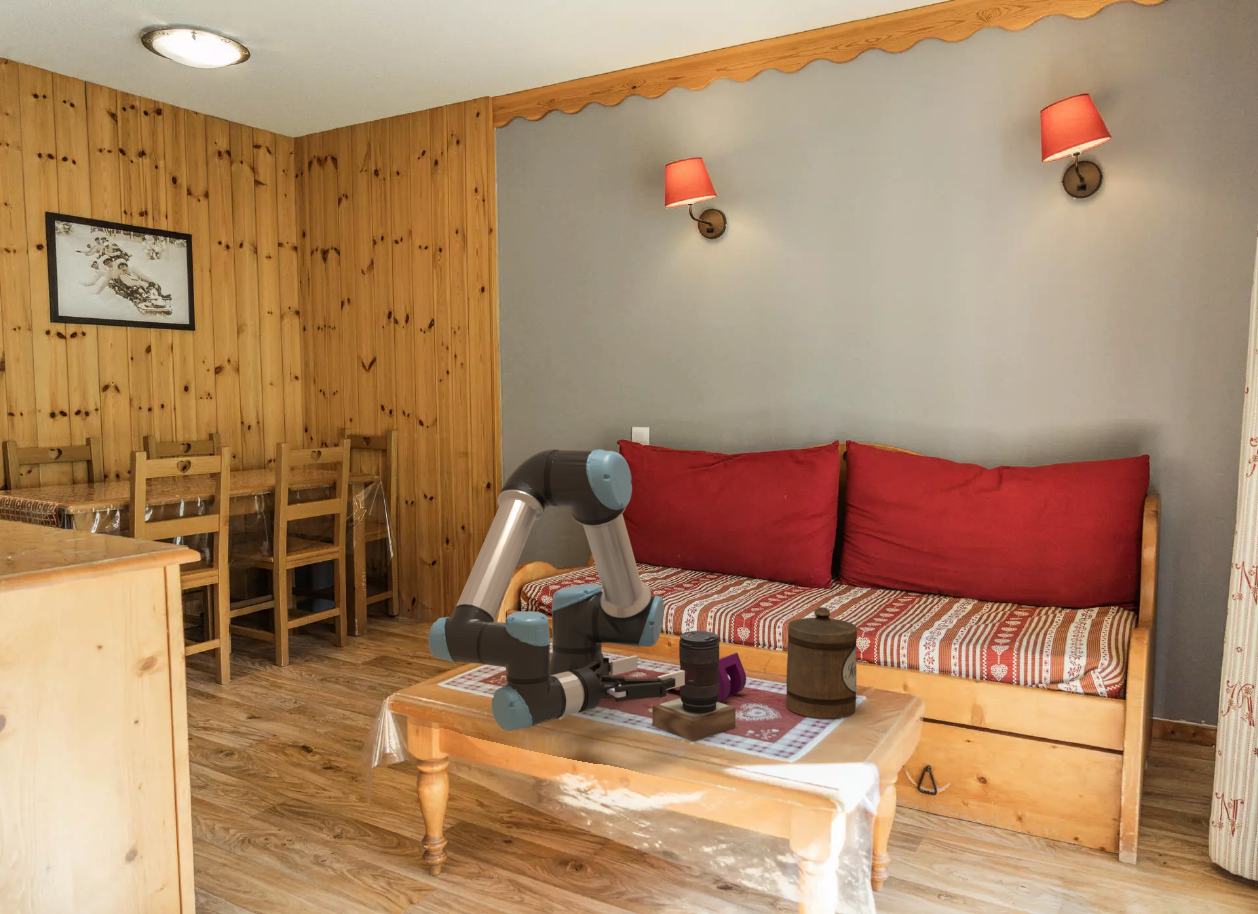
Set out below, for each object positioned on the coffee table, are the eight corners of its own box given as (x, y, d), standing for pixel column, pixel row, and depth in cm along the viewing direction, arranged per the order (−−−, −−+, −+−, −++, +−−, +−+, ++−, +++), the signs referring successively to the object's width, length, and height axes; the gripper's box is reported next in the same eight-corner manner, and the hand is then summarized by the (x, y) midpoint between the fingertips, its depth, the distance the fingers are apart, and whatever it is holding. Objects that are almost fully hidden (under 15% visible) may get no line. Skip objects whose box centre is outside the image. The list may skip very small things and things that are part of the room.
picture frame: (652, 725, 180) (652, 704, 180) (693, 712, 188) (693, 691, 188) (693, 741, 171) (693, 719, 171) (735, 727, 179) (735, 705, 179)
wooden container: (865, 718, 184) (866, 615, 183) (795, 720, 183) (796, 616, 182) (844, 696, 199) (845, 599, 198) (779, 697, 198) (780, 600, 197)
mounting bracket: (668, 719, 201) (730, 699, 191) (655, 683, 203) (715, 661, 193) (691, 707, 209) (751, 688, 199) (678, 673, 211) (737, 652, 201)
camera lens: (671, 710, 176) (671, 636, 176) (691, 699, 183) (691, 628, 182) (707, 718, 172) (707, 642, 171) (726, 706, 179) (726, 633, 178)
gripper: (533, 695, 169) (618, 674, 183) (617, 731, 150) (704, 704, 164) (533, 657, 168) (618, 638, 182) (617, 687, 149) (704, 664, 163)
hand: (659, 669), depth 173 cm, fingers open, 13 cm apart
